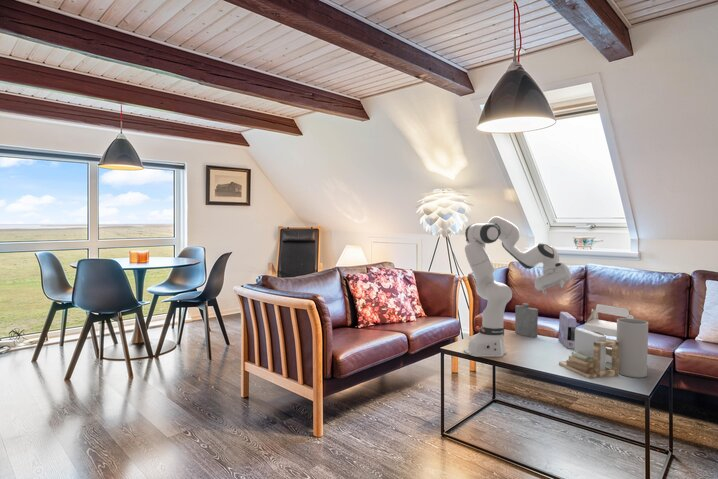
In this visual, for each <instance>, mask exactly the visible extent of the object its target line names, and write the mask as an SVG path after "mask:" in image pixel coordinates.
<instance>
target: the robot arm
mask: <svg viewBox="0 0 718 479" xmlns="http://www.w3.org/2000/svg"><path fill="white" fill-rule="evenodd" d="M520 235H521V232H520V230H519V228H518V226H517V225H516V224H514V223H513V222H511V221H509V220H507V219H505V218H503V217H501V216H497V215H495V216H492V217H491V218H490V219H489V220H487V223H485V222H479V223H478V222H477V223H472V224H470V225H468V226H467V227H466V229H465V235H464V236H465V239H466V240H465V241H466V243H467V244H466V245H465V247H464V252H465V256H466V260H467V262H468V264H469V266H470V268H471V271H472V273H473V276H474V278H475V281H476V282H475V284H476V286H475V292H476V294H477V295H478V296H479V297H480V298H482V299H483V300H486V301H487V302H486V303H487V304H486V307H485V309H483V311H482V325H481V326H479V325H476V327H475V329H476V330H477V331H479V332H478V333H477V334H475V335H474V336H473V337H472V338H470V339H469V341H468V344H467V347H465V348H463V351H464V353H465V354H467V355H470V356H473V357H477V358H481V357H483V358H486V357H488V358H489V357H490V358H491V357H493V358H496V357H498V358H499V357H504V355H506V354H507V350H506V347H505V340H504V338H505V337H504V336H505V327H504V319H505V318H504V317H505V315H504V314H505V309H506V306H507V305H508V303H509V302H510V301H511V300H512V298H513V291H512V289H511V287H509V286H508V285H507V284H505V283H503V282H500V281H499V282H498V281H496V280H495V278H494V272H495V267H494V265H493V262H492V261H491V258H490V256H489V254H488V252H487V250H486V244H488V245H489V244H492V243H494V242H496V241H498V240H499V241H501V246H502V248H504V250H505V251H506V252H507V253H508V254H509V255H510V256H512V257H513V258H514V259H515V261H517V262H518V263H519V264H520V266H521V267H522V268H524V269H526V270H527V269H528V270H531V269H533V268H534V267H536V266H537V265H539V264H540V263H542V274H540V275H537V276H536V278H535V279H534V288H535V290H537V291H538V292H540V291H542V294H544V295H547V294H548V291H547V290H546V289H549V288H551V287H553V286H556V285H558V288H559V289H560V290H561V289H563V288H564V285H565V283H566V282H567V281H570V280H571V279H572V274H571V271H570V268H569V267H568V266H567V265H566V264H565V263H564V262H560V256H559V253H558V250H557V249H556V247H554V246H551V245H548V244H546V243H543V242H539V243H537V244H535V245H534V246H532V247H531V248H529V249H527V250H525V251H521V250H520V248H518V247H517V246H516V244H517V243H518V241H519V239H520Z"/></svg>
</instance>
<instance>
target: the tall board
mask: <svg viewBox="0 0 718 479" xmlns="http://www.w3.org/2000/svg"><path fill="white" fill-rule="evenodd" d="M601 341H607V335H604V336H603V335H600V334H597V333H594V332H591V331H588V330H585V328H582V327H581V328H576V329H575V349H573V350H574V351H573V352H582V353H585V354H587V355H590V356H592V357H593V355H594V342H601ZM606 348H607V346H601V353H600V371H605V365H606V362H605V361H606Z"/></svg>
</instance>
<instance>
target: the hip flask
mask: <svg viewBox="0 0 718 479" xmlns="http://www.w3.org/2000/svg"><path fill="white" fill-rule="evenodd" d="M529 306H530V304H529V303H525V302H524V303H522V305H515V308H514V309H515V314H514V316H515V317H514V318H515V322H514V323H515V324H514V326H515V327H514V330H515V331H514V332H515V334H518V335H521V336H522V335H523V336H526V337H531V338H538V324H539V323H538V322H539V320H538V319H539V318H538V317H539V315H538V314H539V310H538V308H533V307H529Z"/></svg>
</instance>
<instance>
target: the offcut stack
mask: <svg viewBox="0 0 718 479" xmlns="http://www.w3.org/2000/svg"><path fill="white" fill-rule="evenodd" d="M566 361H567V363H566V365H567V366H570V367H572V368H574V369H576V370H578V371H580V372H582V373H585V374H591V373H594V368H593V357H592V356H590V355H587V354H585V353H582V352H574V351H572V352H571V355H568V359H566Z"/></svg>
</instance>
